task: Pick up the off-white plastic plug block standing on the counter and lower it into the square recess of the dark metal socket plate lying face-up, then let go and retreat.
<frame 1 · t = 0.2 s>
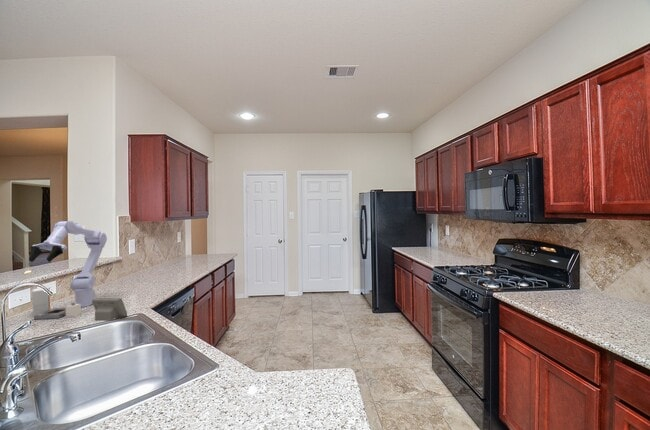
hand: (39, 260, 143), 31 cm above the worktop, tool tilted 45°, fingers open, 7 cm apart
plug: (73, 315, 154), on the worktop
small box: (42, 313, 159), on the worktop
socket plate: (56, 315, 155), on the worktop
digital clock: (110, 317, 149), on the worktop
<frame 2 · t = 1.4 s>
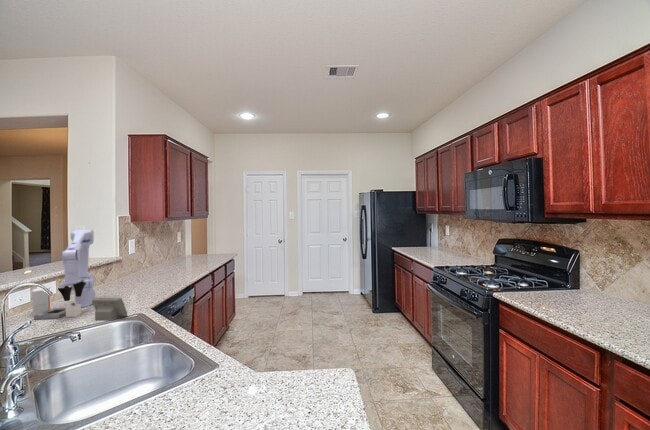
hand: (72, 298, 154), 9 cm above the worktop, tool pointing down, fingers open, 7 cm apart
nothing on the worktop moved.
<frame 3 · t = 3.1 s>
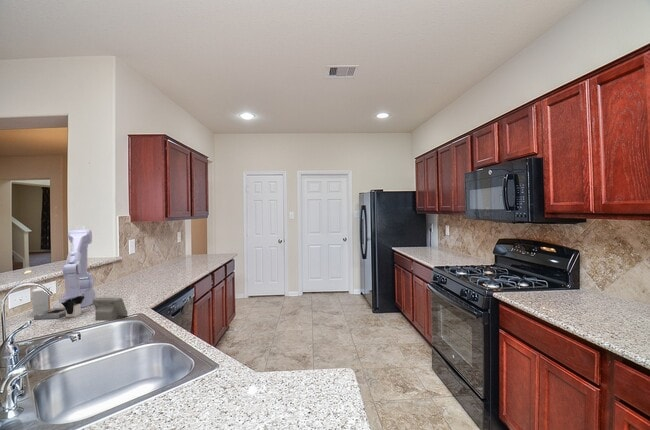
hand: (73, 312, 154), 2 cm above the worktop, tool pointing down, fingers closed on plug, 4 cm apart
plug: (73, 315, 154), on the worktop, touching gripper
everything else where it was.
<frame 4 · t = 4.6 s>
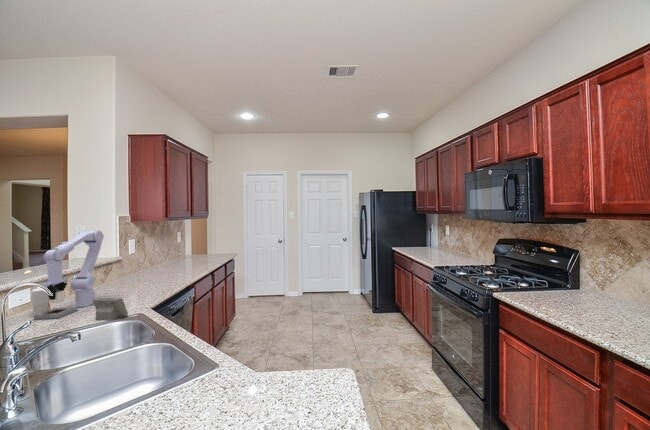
hand: (56, 298, 155), 9 cm above the worktop, tool pointing down, fingers closed on plug, 4 cm apart
plug: (56, 302, 155), point 7 cm above the worktop, touching gripper
everything else where it was.
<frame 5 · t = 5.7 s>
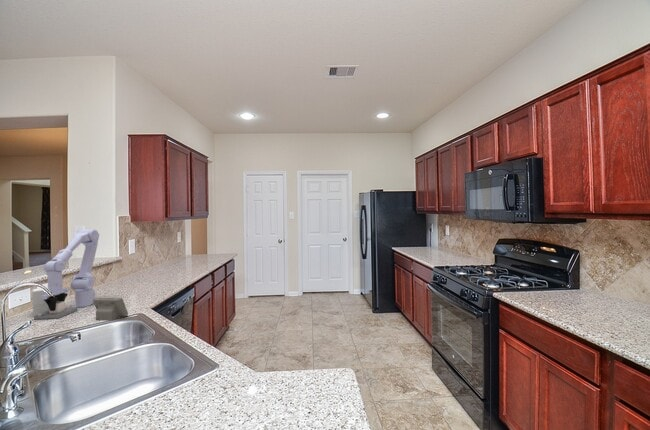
hand: (56, 309, 155), 3 cm above the worktop, tool pointing down, fingers closed on plug, 4 cm apart
plug: (57, 313, 155), point 1 cm above the worktop, touching gripper
everything else where it was.
when the fingers open (3 cm above the worktop, at t = 6.5 s): plug stays where it is, resting on socket plate.
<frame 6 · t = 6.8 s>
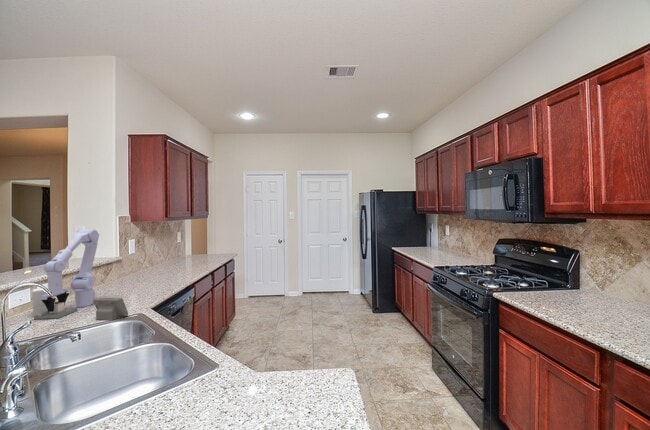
hand: (56, 309, 155), 3 cm above the worktop, tool pointing down, fingers open, 6 cm apart
plug: (57, 314, 155), resting on socket plate
everything else where it was.
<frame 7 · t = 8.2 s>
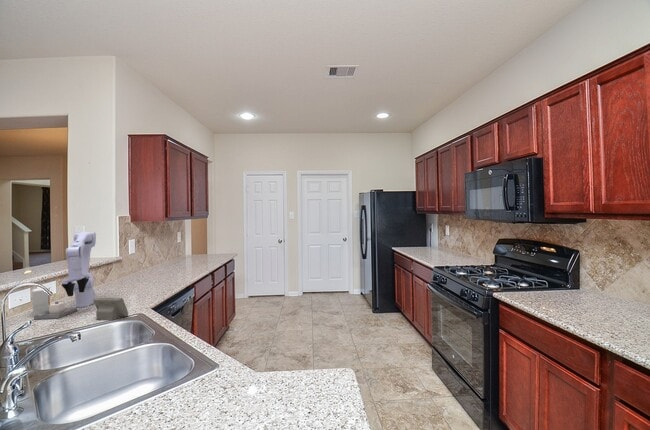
hand: (76, 294, 159), 10 cm above the worktop, tool pointing down, fingers open, 7 cm apart
nothing on the worktop moved.
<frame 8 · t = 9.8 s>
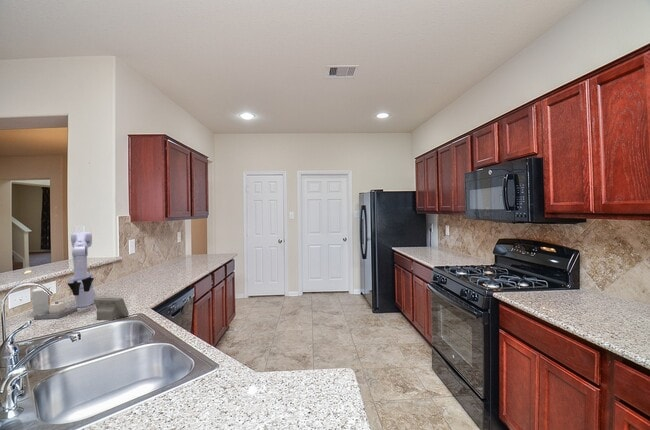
hand: (81, 293, 160), 10 cm above the worktop, tool pointing down, fingers open, 7 cm apart
nothing on the worktop moved.
at the end: plug 0.3 cm off-centre on the socket plate, point 0.5 cm above the socket plate's base; plug tilted 0°; the gripper is holding nothing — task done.
